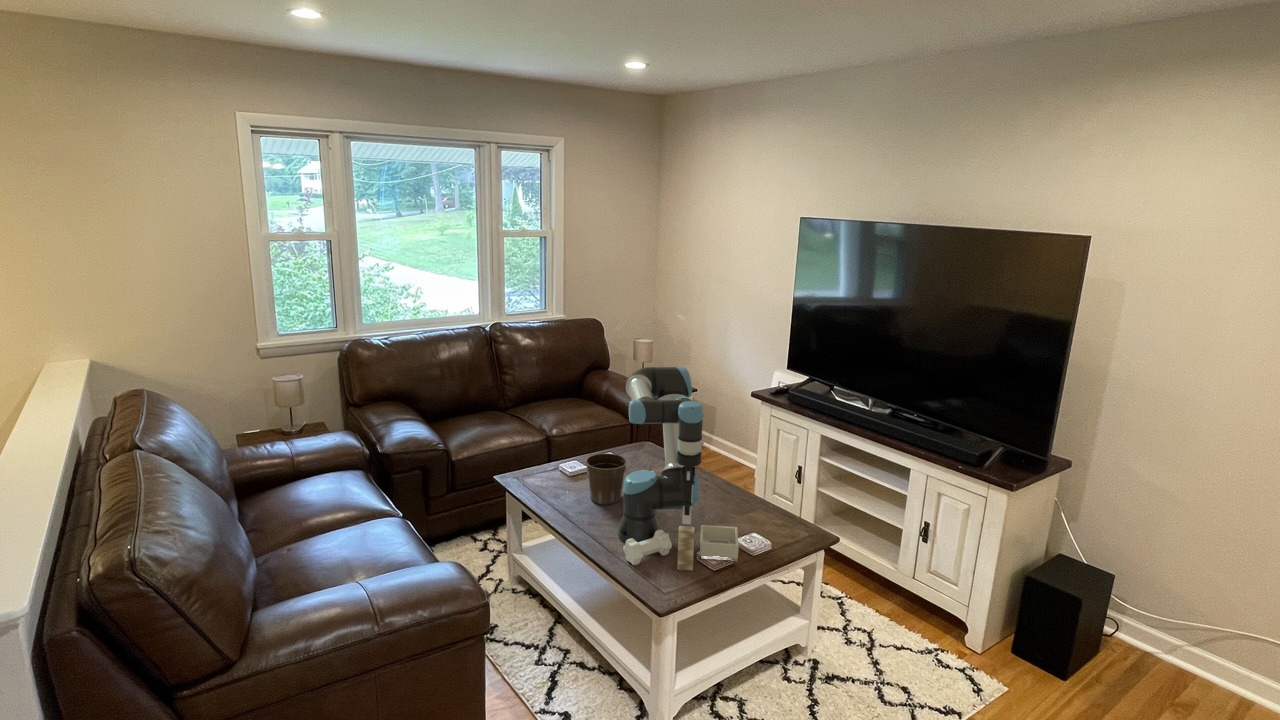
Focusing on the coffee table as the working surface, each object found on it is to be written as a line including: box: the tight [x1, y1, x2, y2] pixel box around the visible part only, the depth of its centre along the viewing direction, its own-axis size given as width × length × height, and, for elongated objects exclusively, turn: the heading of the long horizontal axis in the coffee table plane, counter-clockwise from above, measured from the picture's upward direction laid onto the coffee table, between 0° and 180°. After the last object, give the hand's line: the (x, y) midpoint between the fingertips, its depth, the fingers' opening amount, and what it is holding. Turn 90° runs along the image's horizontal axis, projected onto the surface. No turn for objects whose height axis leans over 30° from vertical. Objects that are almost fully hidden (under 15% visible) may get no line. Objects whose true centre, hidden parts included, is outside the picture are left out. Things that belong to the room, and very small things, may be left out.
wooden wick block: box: [676, 525, 695, 571], centre depth 218 cm, size 5×3×14 cm, turn 84°
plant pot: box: [585, 452, 628, 506], centre depth 266 cm, size 16×16×16 cm
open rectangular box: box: [699, 524, 740, 563], centre depth 229 cm, size 13×13×6 cm
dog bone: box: [622, 528, 673, 566], centre depth 224 cm, size 15×9×8 cm, turn 123°
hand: (687, 513), depth 214 cm, fingers open, 13 cm apart
